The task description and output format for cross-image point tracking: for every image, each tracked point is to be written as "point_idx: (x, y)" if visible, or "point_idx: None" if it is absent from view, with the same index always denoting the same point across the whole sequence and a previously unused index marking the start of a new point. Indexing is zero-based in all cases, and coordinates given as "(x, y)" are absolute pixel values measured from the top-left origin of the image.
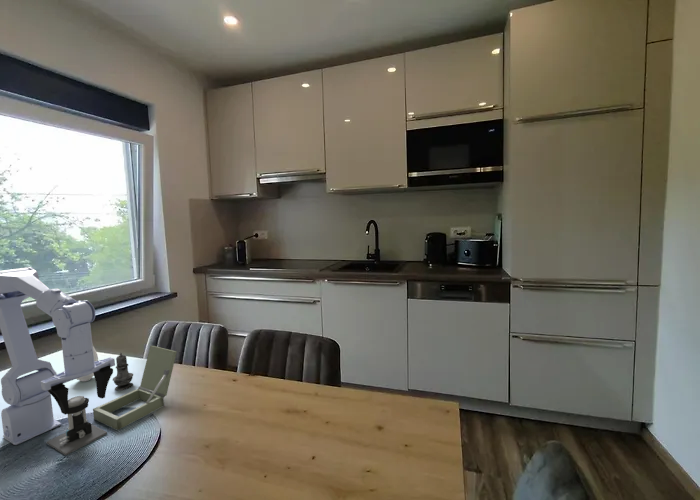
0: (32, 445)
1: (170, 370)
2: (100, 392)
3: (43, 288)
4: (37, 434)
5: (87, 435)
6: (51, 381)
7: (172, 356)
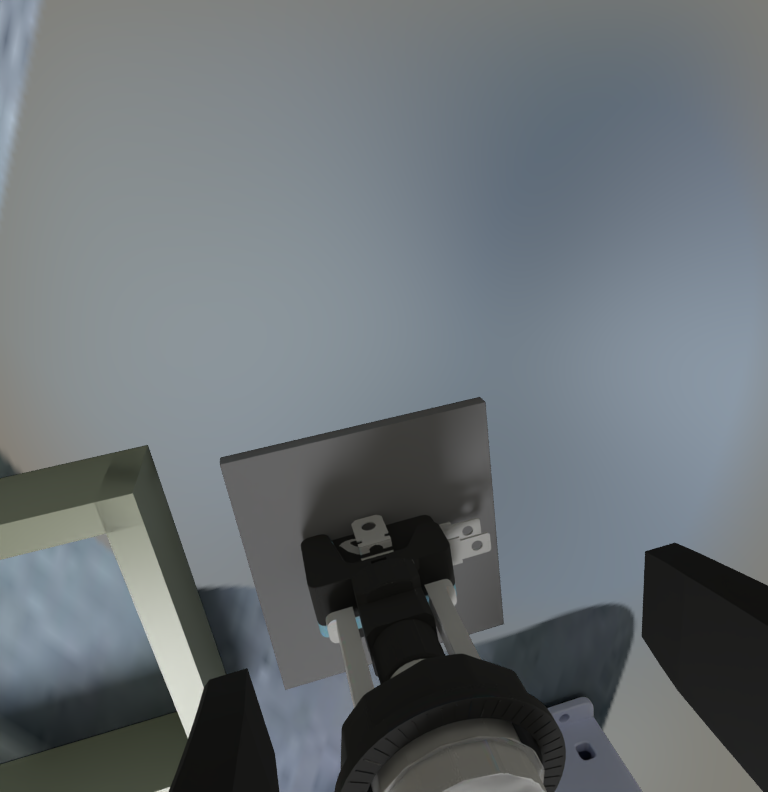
0: (542, 646)
1: None
2: (256, 784)
3: None
4: None
5: (331, 522)
6: None
7: None
